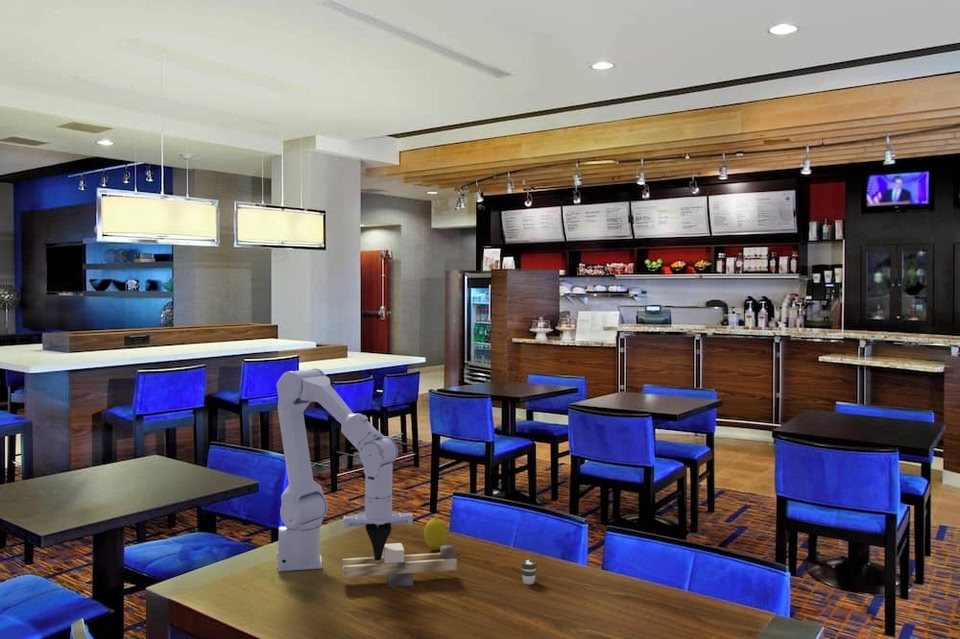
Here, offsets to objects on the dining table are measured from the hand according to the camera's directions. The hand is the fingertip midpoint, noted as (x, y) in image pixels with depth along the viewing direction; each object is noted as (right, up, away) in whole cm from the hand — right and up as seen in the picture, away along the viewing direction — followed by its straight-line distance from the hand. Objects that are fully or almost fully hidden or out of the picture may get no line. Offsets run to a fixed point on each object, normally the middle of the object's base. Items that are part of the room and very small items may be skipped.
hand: (377, 558), depth 159 cm
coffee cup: (+32, -6, +2) cm, 33 cm away
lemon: (+11, -5, +21) cm, 25 cm away
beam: (+5, -5, +1) cm, 7 cm away
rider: (+3, -1, +1) cm, 4 cm away
